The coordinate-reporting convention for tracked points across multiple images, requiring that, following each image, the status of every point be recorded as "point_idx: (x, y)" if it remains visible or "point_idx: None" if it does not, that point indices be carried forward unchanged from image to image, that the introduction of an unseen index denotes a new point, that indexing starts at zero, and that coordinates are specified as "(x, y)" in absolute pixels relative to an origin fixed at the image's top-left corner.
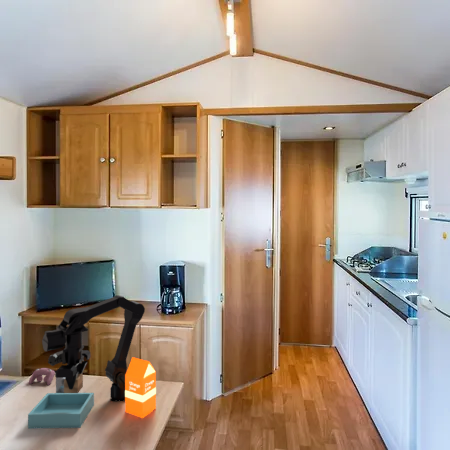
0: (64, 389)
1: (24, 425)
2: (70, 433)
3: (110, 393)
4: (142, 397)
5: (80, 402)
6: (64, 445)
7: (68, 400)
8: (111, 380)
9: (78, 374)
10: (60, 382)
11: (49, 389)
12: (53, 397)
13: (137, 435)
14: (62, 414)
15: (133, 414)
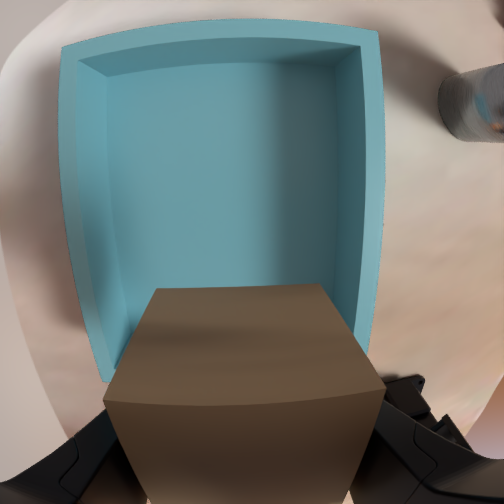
0: (147, 313)
1: None
2: (79, 309)
3: (391, 396)
4: None
5: (338, 273)
6: (17, 313)
7: (347, 196)
8: (440, 424)
9: (324, 492)
10: (496, 96)
11: (485, 38)
12: (353, 85)
13: None
14: (76, 283)
15: None
